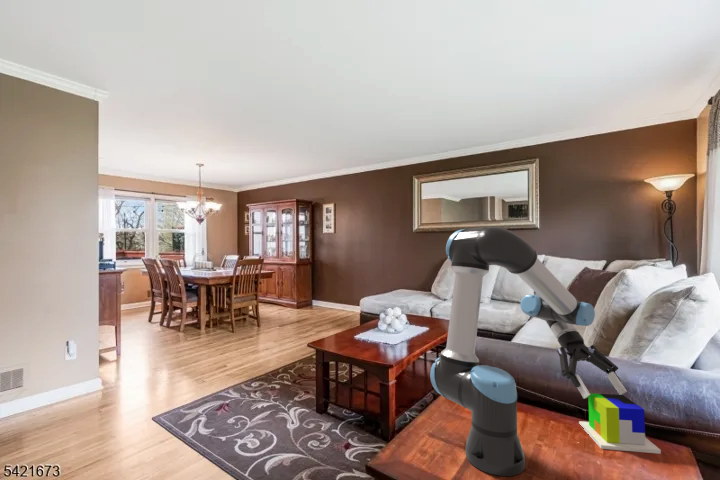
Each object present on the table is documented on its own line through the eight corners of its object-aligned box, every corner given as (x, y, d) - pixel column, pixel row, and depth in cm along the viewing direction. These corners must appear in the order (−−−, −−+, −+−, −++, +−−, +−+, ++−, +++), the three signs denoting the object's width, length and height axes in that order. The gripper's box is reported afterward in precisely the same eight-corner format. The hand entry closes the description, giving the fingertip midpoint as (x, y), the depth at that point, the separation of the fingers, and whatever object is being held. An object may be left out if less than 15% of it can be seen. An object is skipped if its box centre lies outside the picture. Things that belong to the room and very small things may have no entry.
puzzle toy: (645, 444, 98) (644, 409, 98) (607, 442, 99) (606, 407, 100) (623, 427, 108) (622, 394, 108) (589, 425, 109) (588, 393, 110)
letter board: (601, 448, 98) (601, 444, 98) (579, 424, 112) (579, 420, 112) (660, 453, 96) (660, 449, 96) (630, 428, 109) (630, 424, 109)
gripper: (590, 339, 128) (630, 396, 113) (531, 342, 124) (564, 403, 108) (603, 328, 123) (646, 386, 108) (542, 331, 119) (578, 393, 103)
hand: (605, 395), depth 108 cm, fingers open, 13 cm apart
